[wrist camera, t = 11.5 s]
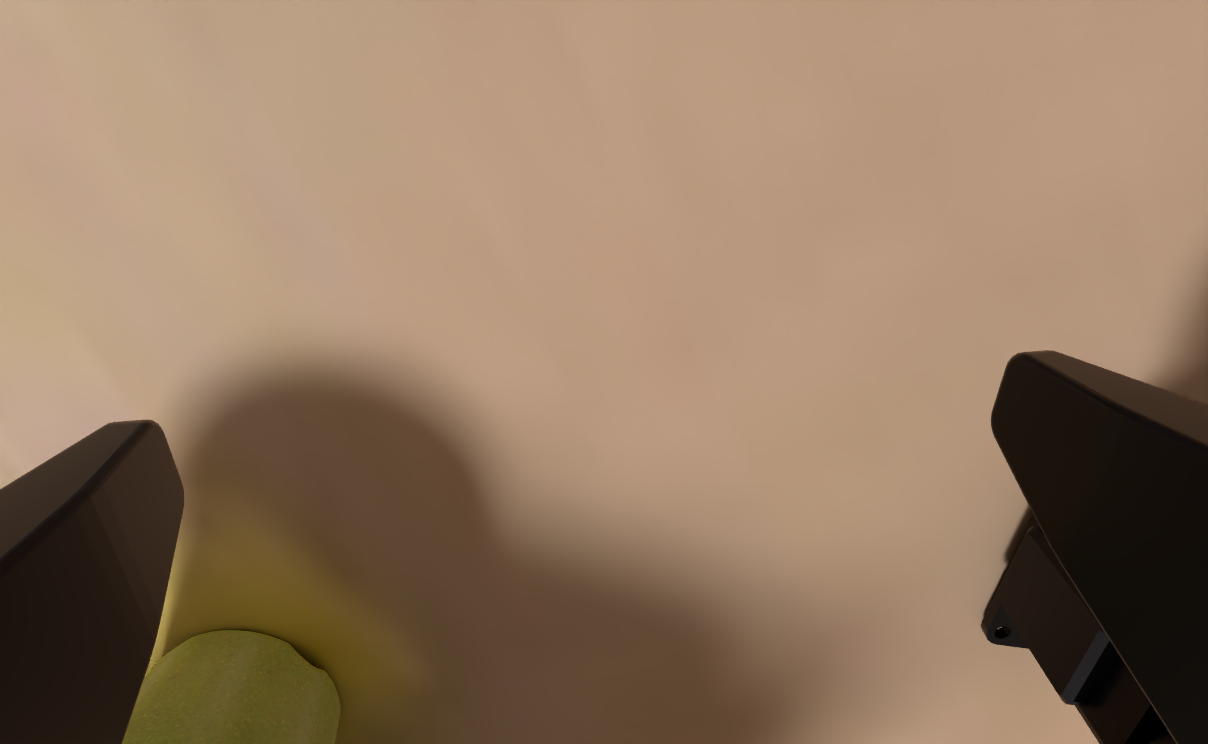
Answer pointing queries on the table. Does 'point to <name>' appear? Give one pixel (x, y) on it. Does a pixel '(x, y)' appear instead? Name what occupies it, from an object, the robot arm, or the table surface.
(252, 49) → the table surface
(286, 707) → the plant pot
